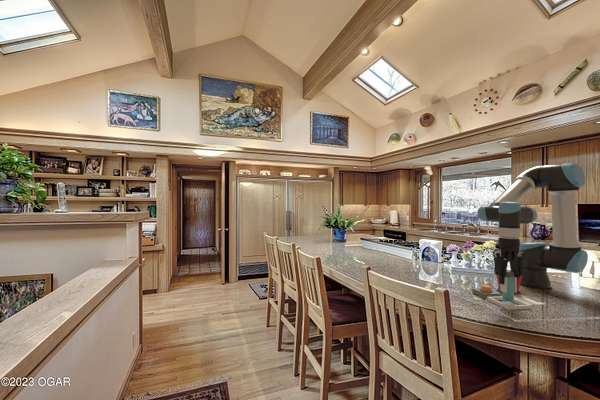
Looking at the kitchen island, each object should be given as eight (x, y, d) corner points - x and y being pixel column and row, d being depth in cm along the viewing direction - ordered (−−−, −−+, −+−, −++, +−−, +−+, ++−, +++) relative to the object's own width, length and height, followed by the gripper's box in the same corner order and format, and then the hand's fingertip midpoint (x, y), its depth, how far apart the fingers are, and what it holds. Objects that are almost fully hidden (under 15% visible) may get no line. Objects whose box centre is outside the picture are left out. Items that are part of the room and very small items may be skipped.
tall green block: (508, 297, 119) (508, 270, 119) (516, 300, 116) (516, 272, 116) (500, 297, 119) (500, 270, 119) (507, 300, 115) (508, 272, 115)
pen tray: (509, 301, 123) (509, 296, 123) (531, 310, 113) (531, 305, 113) (487, 301, 122) (487, 296, 122) (507, 311, 111) (507, 306, 111)
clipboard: (521, 295, 131) (521, 293, 131) (550, 306, 117) (550, 304, 117) (498, 296, 130) (498, 293, 130) (525, 307, 116) (525, 304, 116)
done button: (486, 292, 131) (487, 285, 131) (494, 295, 126) (494, 287, 126) (478, 292, 130) (478, 285, 130) (485, 295, 126) (485, 288, 126)
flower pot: (512, 287, 143) (512, 269, 143) (527, 294, 132) (527, 274, 132) (490, 286, 144) (491, 268, 144) (504, 293, 133) (504, 274, 133)
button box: (487, 294, 133) (487, 287, 133) (501, 299, 125) (501, 293, 125) (472, 294, 132) (472, 288, 132) (485, 300, 124) (485, 293, 124)
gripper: (518, 236, 122) (518, 288, 122) (484, 236, 120) (483, 289, 120) (534, 238, 115) (534, 294, 114) (498, 238, 113) (497, 294, 113)
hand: (508, 291), depth 117 cm, fingers closed on tall green block, 4 cm apart
